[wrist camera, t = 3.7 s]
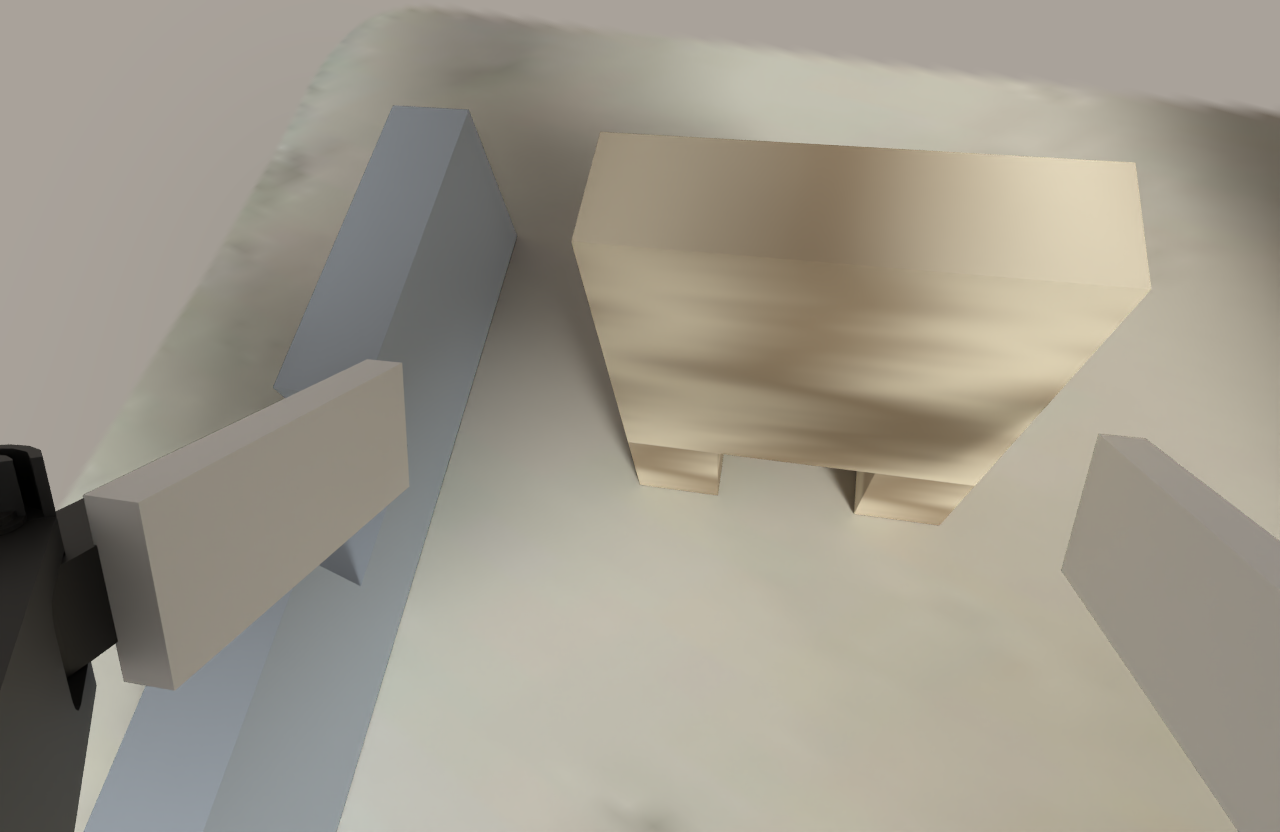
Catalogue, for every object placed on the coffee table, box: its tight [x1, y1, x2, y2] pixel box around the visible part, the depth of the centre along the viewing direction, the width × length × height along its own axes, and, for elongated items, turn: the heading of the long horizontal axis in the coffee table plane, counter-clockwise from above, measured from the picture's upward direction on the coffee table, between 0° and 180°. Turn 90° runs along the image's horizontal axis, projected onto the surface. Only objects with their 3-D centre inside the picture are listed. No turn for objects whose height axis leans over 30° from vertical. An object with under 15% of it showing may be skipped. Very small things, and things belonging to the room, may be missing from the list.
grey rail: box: [84, 106, 517, 832], centre depth 21 cm, size 2×24×6 cm, turn 170°
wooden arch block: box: [571, 132, 1151, 525], centre depth 18 cm, size 9×2×12 cm, turn 80°
